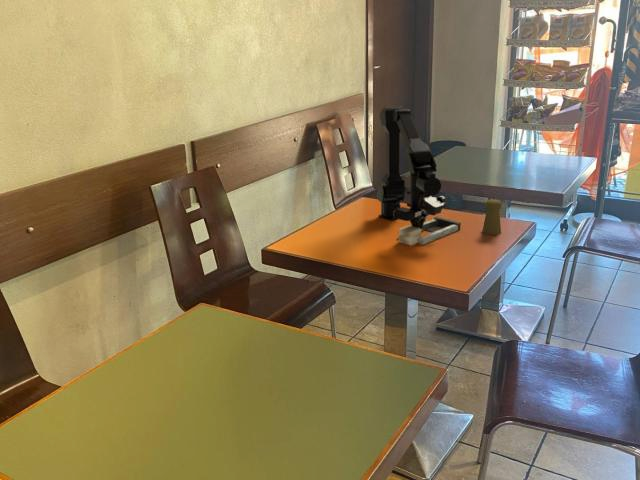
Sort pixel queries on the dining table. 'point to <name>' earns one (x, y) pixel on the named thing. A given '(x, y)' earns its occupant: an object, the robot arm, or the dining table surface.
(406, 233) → the cream block
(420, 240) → the trap channel
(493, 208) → the olive tapered tower
